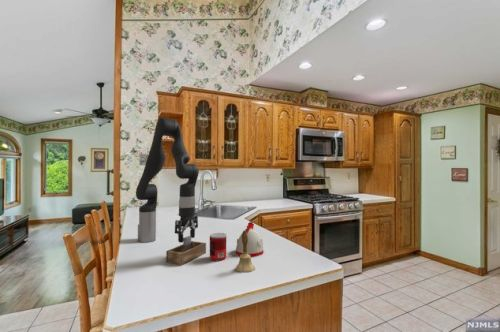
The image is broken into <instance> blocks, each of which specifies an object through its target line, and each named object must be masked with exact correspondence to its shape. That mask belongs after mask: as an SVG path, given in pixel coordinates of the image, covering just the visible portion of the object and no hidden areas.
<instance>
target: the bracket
mask: <svg viewBox="0 0 500 332" xmlns="http://www.w3.org/2000/svg"><path fill="white" fill-rule="evenodd" d="M191 241H192V238H191V236H190V235H187V236H185V237H184V236H183V242H182V245H183V252H185V251H187V250H189V249H191ZM183 252H182V253H183Z"/></svg>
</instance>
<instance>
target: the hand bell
mask: <svg viewBox="0 0 500 332" xmlns="http://www.w3.org/2000/svg"><path fill="white" fill-rule="evenodd" d="M242 233H243V234H242ZM242 233H241V234H242V243H243V254H242V255H240V256H239V261H238V263H237V265H236V266H235V271H237V272H239V273H251V272H253V271H255V270H256V267H255V265H254V264H253V262H252V259H251V258H252V257H251V256H250V255H249V254H247V242H248V235H247V232H246V229H244V230H243V231H242Z"/></svg>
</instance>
